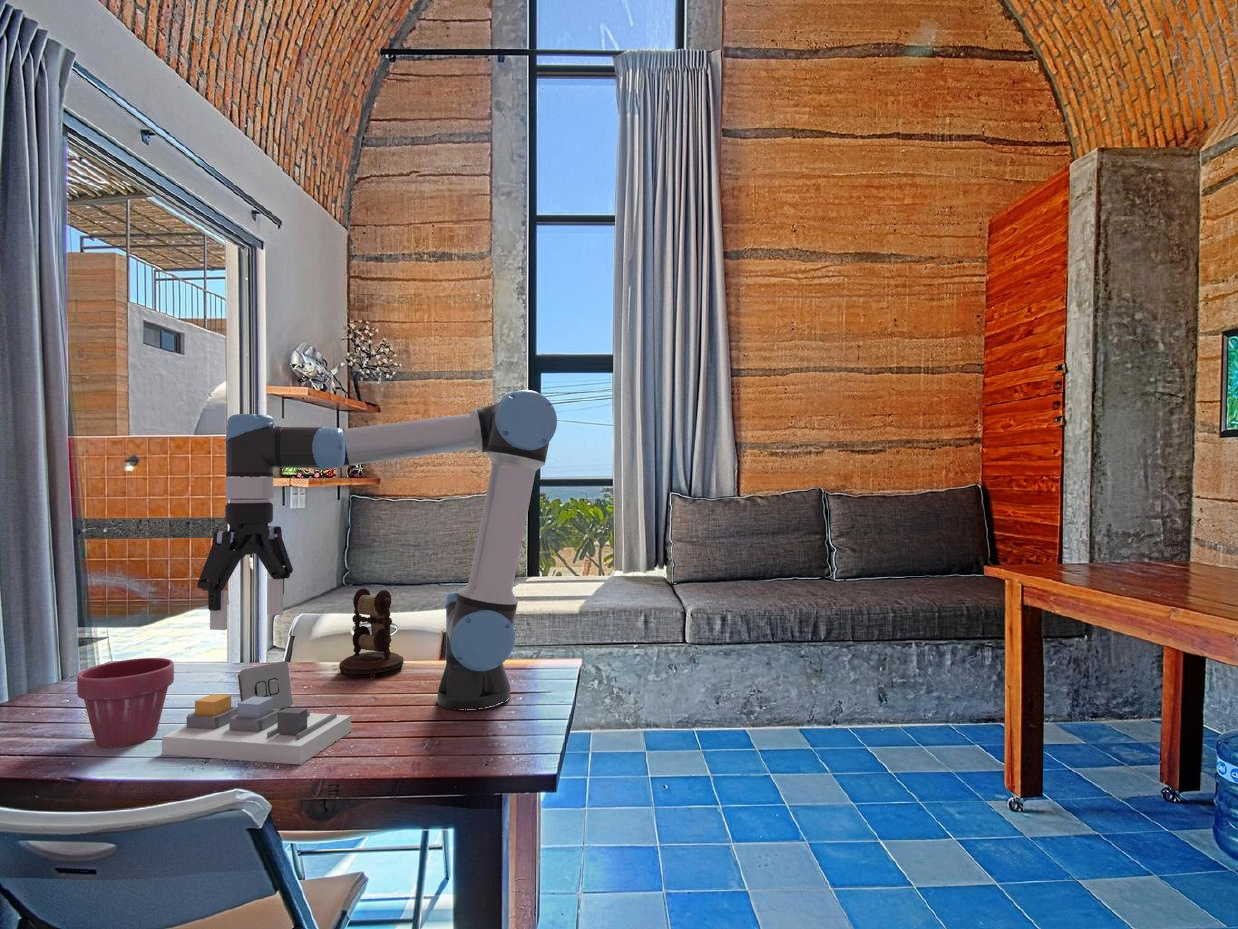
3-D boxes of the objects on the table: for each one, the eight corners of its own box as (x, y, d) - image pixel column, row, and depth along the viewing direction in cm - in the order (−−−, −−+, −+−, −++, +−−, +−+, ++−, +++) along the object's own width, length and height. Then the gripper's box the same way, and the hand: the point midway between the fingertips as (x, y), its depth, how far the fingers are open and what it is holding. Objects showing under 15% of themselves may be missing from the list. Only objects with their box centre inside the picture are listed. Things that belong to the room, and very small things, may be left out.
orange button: (231, 709, 127) (231, 695, 127) (214, 716, 123) (215, 702, 123) (211, 708, 127) (211, 694, 127) (194, 715, 123) (195, 701, 123)
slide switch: (307, 729, 120) (307, 708, 120) (298, 734, 118) (298, 713, 118) (286, 728, 121) (286, 707, 121) (277, 733, 119) (277, 712, 119)
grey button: (273, 712, 125) (273, 697, 125) (257, 719, 121) (258, 704, 121) (253, 710, 126) (253, 696, 126) (237, 718, 122) (237, 703, 122)
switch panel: (351, 731, 128) (351, 704, 128) (300, 764, 114) (300, 733, 114) (226, 724, 133) (226, 697, 133) (161, 754, 118) (162, 724, 118)
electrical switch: (246, 719, 136) (244, 670, 137) (234, 716, 139) (233, 668, 140) (293, 707, 143) (291, 661, 144) (281, 704, 146) (280, 659, 147)
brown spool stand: (416, 667, 173) (416, 586, 173) (372, 683, 160) (373, 595, 160) (370, 661, 179) (371, 583, 180) (325, 676, 166) (325, 591, 166)
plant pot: (64, 759, 116) (65, 682, 117) (89, 731, 129) (90, 662, 129) (165, 745, 122) (165, 672, 122) (179, 720, 135) (180, 654, 135)
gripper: (279, 499, 136) (278, 608, 136) (172, 503, 112) (171, 635, 112) (313, 499, 135) (312, 609, 134) (212, 503, 111) (211, 637, 110)
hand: (248, 621), depth 123 cm, fingers open, 13 cm apart
